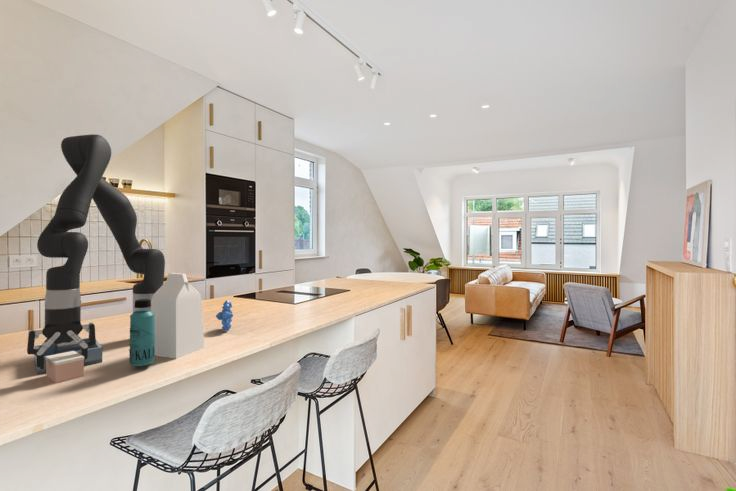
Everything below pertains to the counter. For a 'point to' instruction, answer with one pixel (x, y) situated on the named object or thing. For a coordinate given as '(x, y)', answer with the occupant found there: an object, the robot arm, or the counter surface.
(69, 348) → the iron block
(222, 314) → the grapes
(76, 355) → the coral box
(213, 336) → the counter surface
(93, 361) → the box
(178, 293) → the milk
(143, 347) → the beverage bottle
